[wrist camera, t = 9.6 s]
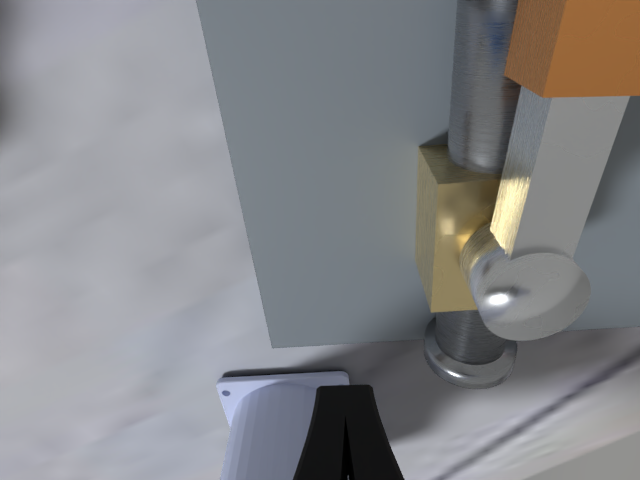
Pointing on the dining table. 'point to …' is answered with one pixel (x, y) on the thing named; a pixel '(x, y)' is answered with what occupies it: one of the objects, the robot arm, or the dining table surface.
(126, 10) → the dining table surface
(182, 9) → the dining table surface
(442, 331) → the valve pipe
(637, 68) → the valve lever
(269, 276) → the base board
